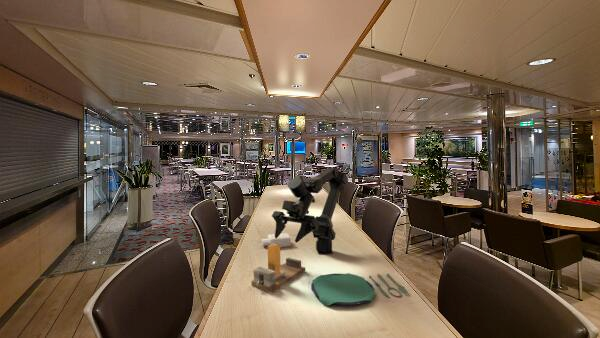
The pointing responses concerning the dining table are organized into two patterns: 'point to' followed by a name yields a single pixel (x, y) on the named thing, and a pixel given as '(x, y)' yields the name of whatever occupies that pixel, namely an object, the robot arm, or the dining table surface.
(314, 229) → the robot arm
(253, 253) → the dining table surface
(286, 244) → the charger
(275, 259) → the orange wooden beam
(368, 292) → the cutlery set
